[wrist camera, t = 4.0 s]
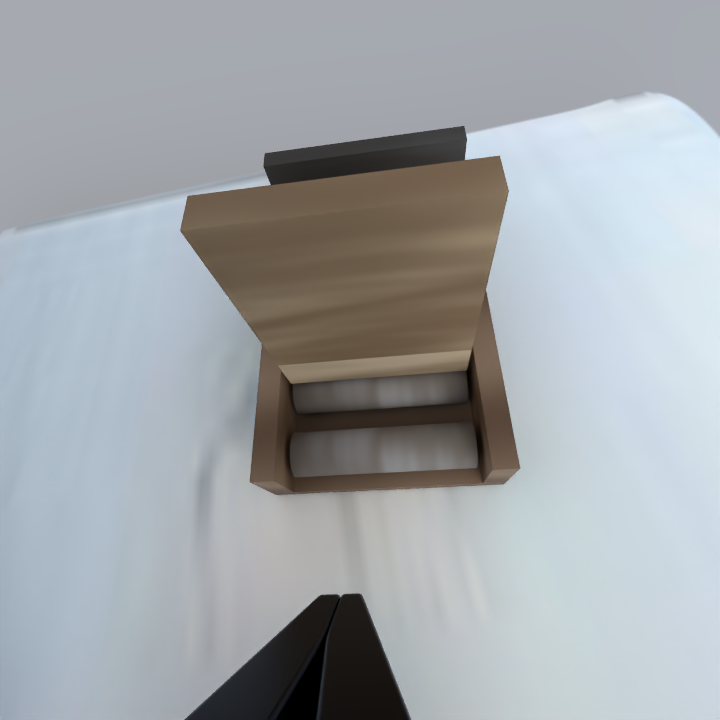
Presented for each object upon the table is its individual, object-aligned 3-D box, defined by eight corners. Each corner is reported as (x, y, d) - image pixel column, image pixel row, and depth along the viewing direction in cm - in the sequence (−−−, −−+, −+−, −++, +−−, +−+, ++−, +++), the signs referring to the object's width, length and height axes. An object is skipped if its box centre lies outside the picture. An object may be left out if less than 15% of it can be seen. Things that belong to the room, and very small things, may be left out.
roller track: (504, 484, 19) (532, 456, 14) (276, 494, 20) (229, 472, 15) (456, 207, 26) (464, 126, 22) (292, 226, 28) (264, 153, 23)
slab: (466, 370, 19) (508, 191, 10) (291, 383, 19) (180, 230, 10) (450, 262, 21) (471, 44, 12) (296, 278, 22) (211, 85, 13)
